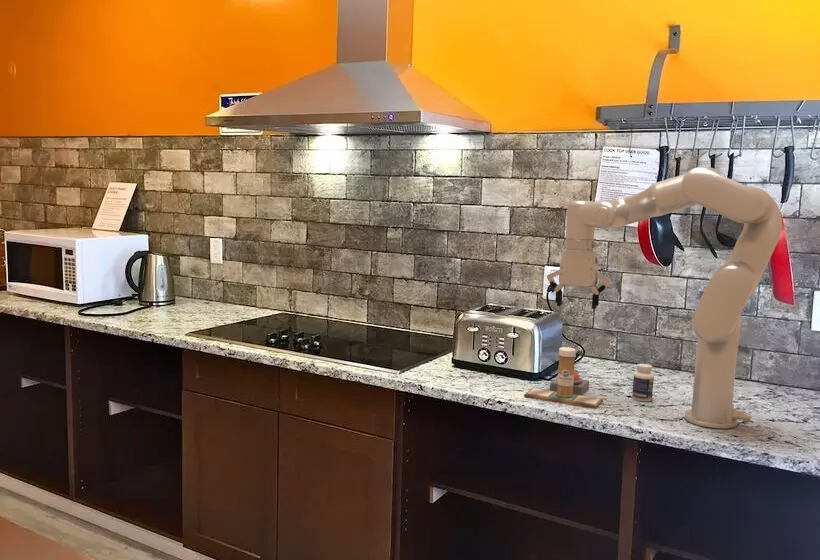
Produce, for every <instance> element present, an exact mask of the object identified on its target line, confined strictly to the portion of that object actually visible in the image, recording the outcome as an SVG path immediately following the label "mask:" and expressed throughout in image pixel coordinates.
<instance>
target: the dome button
mask: <svg viewBox="0 0 820 560" xmlns="http://www.w3.org/2000/svg"><path fill="white" fill-rule="evenodd" d="M582 379H583V378H582V377H580V374H579V372H578V371H576V369H574V384H573V385H577V384H578V383H581V382H582Z"/></svg>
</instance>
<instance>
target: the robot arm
mask: <svg viewBox="0 0 820 560" xmlns="http://www.w3.org/2000/svg"><path fill="white" fill-rule="evenodd" d="M698 205H699V206H701V207H704V208H705V209H707V210H710V211H712V212H714V213H717V214H719V215H720V216H723V217H724V218H727V219H729V220H731V221H734V222H736V223H741V224H743V228H742V230H741V233H740V235H739V237H738V239H737V240H736V242H735V245H734V247H733V249H732V251H731V253H730V255H729V257H728V259H727V261H726V262H725V263H724V264H722V265H720V266H719V267H718V268H717V269H716V270H715V271H714V272H713V274H712V276H711V277H710V279H709V281H708V283H707V284H706V287H705V289H704V292H703V293H702V295H701V297H700V300H699V301H698V304H697V305H696V307H695V308H694V309H695V310H694V312H693V314H692V317H691V327H692V331H693V332H694V333H695V335H696V337H697V345H696V353H695V363H694V365H695V366H694V378H693V390H692V399H691V400H692V402H691V409H690V410H687V411H685V413H684V419H685V420H686V421H687V422H689V423H690V424H691V423H692V424H693V425H696V426H701V427H705V428H710V429H711V428H712V429H732V428H734V427H736V426H738V421H739V420H740V421H741V420H742V421H744V422H745V421H746V422H751V418H752V414H751V413H749V412H747V411H744V410H737V409H736V408H735V404H734V403H733V401H734V388H735V379H736V368H737V360H738V359H737V358H738V347H739V341H740V336H741V335H740V334H741V328H742V314H741V313H742V312H743V310H744V308H745V306H746V304H747V301H748V300H749V298H750V296H751V295H753V294H754V292H756V290H757V289H758V286H759V283H760V281H761V278H762V276H763V273H765V272H764V271H766V270H765V269H766V268H767V266H768V264H769V262H770V260H771V257H772V255H773V253H774V251H775V249H776V247H777V244H778V242H779V240H780V238H781V233H782V230H783V218H782V217H783V216H782V212H781V210H780V208H779V206H778V204H777V202H776V201H775V199H774V198H773V197H772V196H771V195H770V194H769V193H768V192H767V191H765V190H764V189H762V188H759V187H755V186H748V185H745V184H743V183H740V182H738V181H736V180H733V179H731V178H729V177H726V176H724V175H722V173H721V172H720V171H719V170H717V169H715V168H713V167H709V166H698V167H697V166H696V167H694V168H691V169H690V170H688V171H687V172H685V173H683V174H681V175H680V174H679V175H677V176H675V177H670V178H667V179H664V180H660V181H657V182H655V183H653V184H651V185H650V186H649V187H647V188H646V189H645V190H642V191H640V192H637V193H635V194H631V195H628V196H624V197H621V198H619V199H609V200H600V201H591V200H577V199H576V200H570V201H569V202H568V204H567V210H566V224H565V225H566V230H565V249H563V250H562V253H561V257H560V264H559V269H558V270H555V271H554V272H552V273H551V272H550V273H549V274H547V275H546V278H547V281H548V283H549V286H551V288H552V289H553V290H554V292H555V298H554V299H555V301H554V302H555V303H556V306H557V307H560V306H562V305H563V288H564V287H565V286H566V287H577V288H579V287H580V288H590V290H591V291H592V292H593V294H592V295H591V297H592V298H591V309H592V310H596V309H597V307H598V306H599V304H600V294H601V293H602V292H603V291H604V290H606V288H607V287H608V285H609V284H610V282H611V279H610V278H609V277H608V276H606V275H603V274H602V273H600V272H599V270H598V269H599V267H598V266H599V264H598V253H597V251H596V250H595V248H599V247H600V242H599V241H595V228H597V229H601V230H608V229H615V228H620V227H625V226H628V225H630V224H631V225H632V224H635V223H638V222H641V221H644V220H649V219H651V218H655V217H656V218H657V217H662V216H665V215H668V214H672V213H674V212H677V211H682V210H685V209H688V208H691V207H695V206H698ZM557 276H558V283H559V284H557V282H556V281H555V280H554V278H556V277H557ZM599 280H601V281H602V284H601V286H600V287H598V286H597V285H598V282H599Z"/></svg>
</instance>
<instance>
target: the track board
mask: <svg viewBox="0 0 820 560" xmlns="http://www.w3.org/2000/svg"><path fill="white" fill-rule="evenodd" d="M556 394H557V391H550V389H542V388H537V387H532V388H530V390H528V391H527V392H526V393H524V394H523V396H524V397H523V398H527V399H531V400H538V399H540V400H539V401H544V400H546V401H545V402H550V401H552V402H551V403H556V402H558V403H557V404H562V403H564V405H569V404H570V406H575V405H576V407H581V406H582V407H583V408H587V409H593V408H594V410H597V409H598V408H599V407H600V405H601V404H602V403H603V402H604V399H603V398H601V397H594V396H588V395H576V394H573V396H572V397H571V398H563V397H559V396H557V395H556ZM596 408H597V409H596Z"/></svg>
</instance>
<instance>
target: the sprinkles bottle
mask: <svg viewBox="0 0 820 560" xmlns="http://www.w3.org/2000/svg"><path fill="white" fill-rule="evenodd" d="M576 356H577V350H576V349H575V348H573V347H570V346H563V347H559V349H558V370H557V377H558V385H557V394H556V395H557V396H559V397H563V398H571V397H572V396H573V384H574V370H575V362H576V360H575V359H576Z"/></svg>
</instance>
